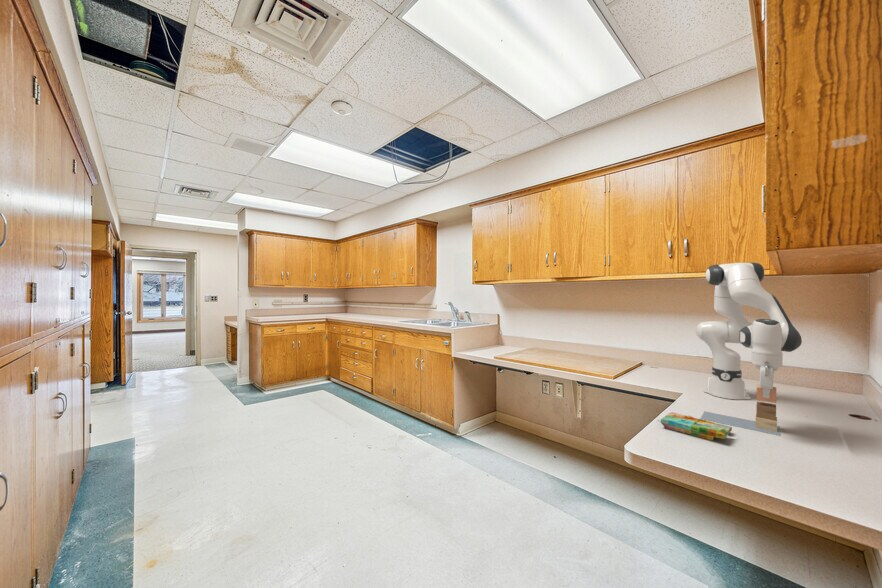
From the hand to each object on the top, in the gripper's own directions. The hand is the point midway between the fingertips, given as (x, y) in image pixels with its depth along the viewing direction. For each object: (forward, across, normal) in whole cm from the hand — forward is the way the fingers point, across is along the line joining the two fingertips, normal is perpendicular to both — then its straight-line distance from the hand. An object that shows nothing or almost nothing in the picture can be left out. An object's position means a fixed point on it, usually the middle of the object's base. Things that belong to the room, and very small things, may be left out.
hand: (766, 395), depth 133 cm
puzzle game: (+14, -21, +20) cm, 33 cm away
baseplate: (+14, -1, +8) cm, 16 cm away
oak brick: (+13, 0, 0) cm, 13 cm away
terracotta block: (+2, 0, 0) cm, 2 cm away
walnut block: (+9, 0, 0) cm, 9 cm away
